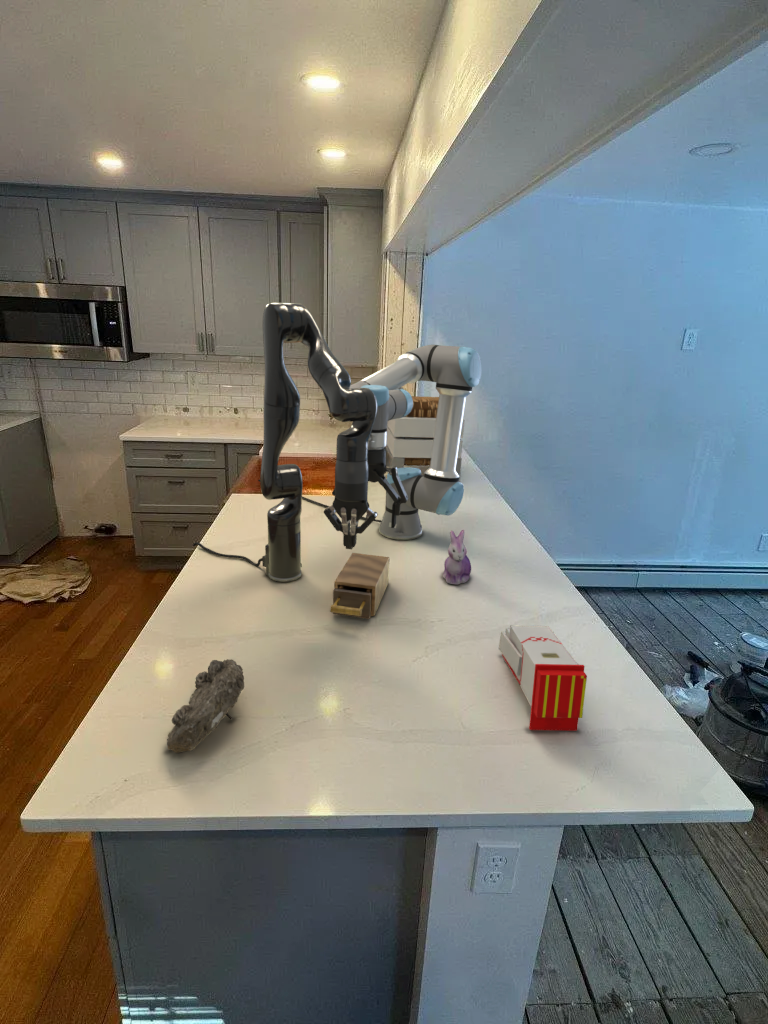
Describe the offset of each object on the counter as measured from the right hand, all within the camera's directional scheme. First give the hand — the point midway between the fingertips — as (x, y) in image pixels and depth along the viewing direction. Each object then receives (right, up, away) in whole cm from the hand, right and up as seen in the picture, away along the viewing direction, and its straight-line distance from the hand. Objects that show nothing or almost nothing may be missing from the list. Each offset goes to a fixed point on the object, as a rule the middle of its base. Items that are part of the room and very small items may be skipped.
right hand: (368, 523), depth 154 cm
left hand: (-4, -5, -20) cm, 21 cm away
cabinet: (-2, -20, +2) cm, 20 cm away
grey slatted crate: (+21, +22, +121) cm, 125 cm away
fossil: (-29, -36, -46) cm, 65 cm away
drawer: (-3, -21, -5) cm, 22 cm away
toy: (+36, -34, -33) cm, 59 cm away
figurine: (+26, -17, +15) cm, 34 cm away
